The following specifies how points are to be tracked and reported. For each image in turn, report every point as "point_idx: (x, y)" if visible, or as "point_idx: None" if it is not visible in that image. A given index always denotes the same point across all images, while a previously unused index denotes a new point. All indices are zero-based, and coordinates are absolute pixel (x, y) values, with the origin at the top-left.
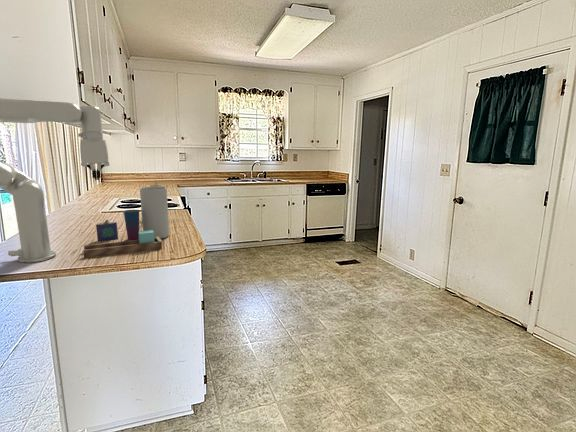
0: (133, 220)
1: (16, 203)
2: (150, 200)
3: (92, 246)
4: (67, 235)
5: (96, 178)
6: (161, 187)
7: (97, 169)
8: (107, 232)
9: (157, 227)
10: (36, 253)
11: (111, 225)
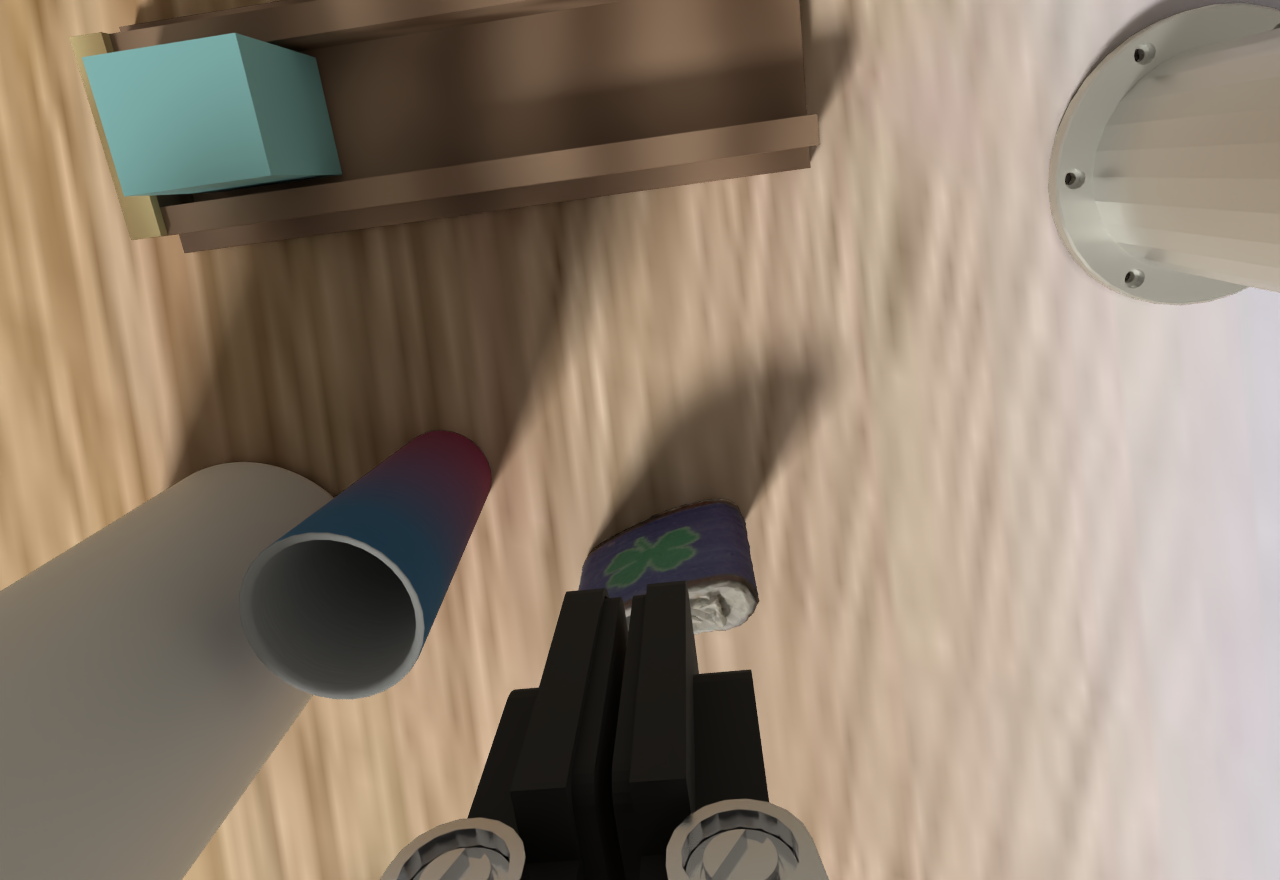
0: (345, 498)
1: None
2: None
3: (742, 126)
4: (1014, 818)
5: (633, 605)
6: None
7: (524, 860)
8: (656, 552)
9: (168, 500)
10: (1225, 41)
11: None
